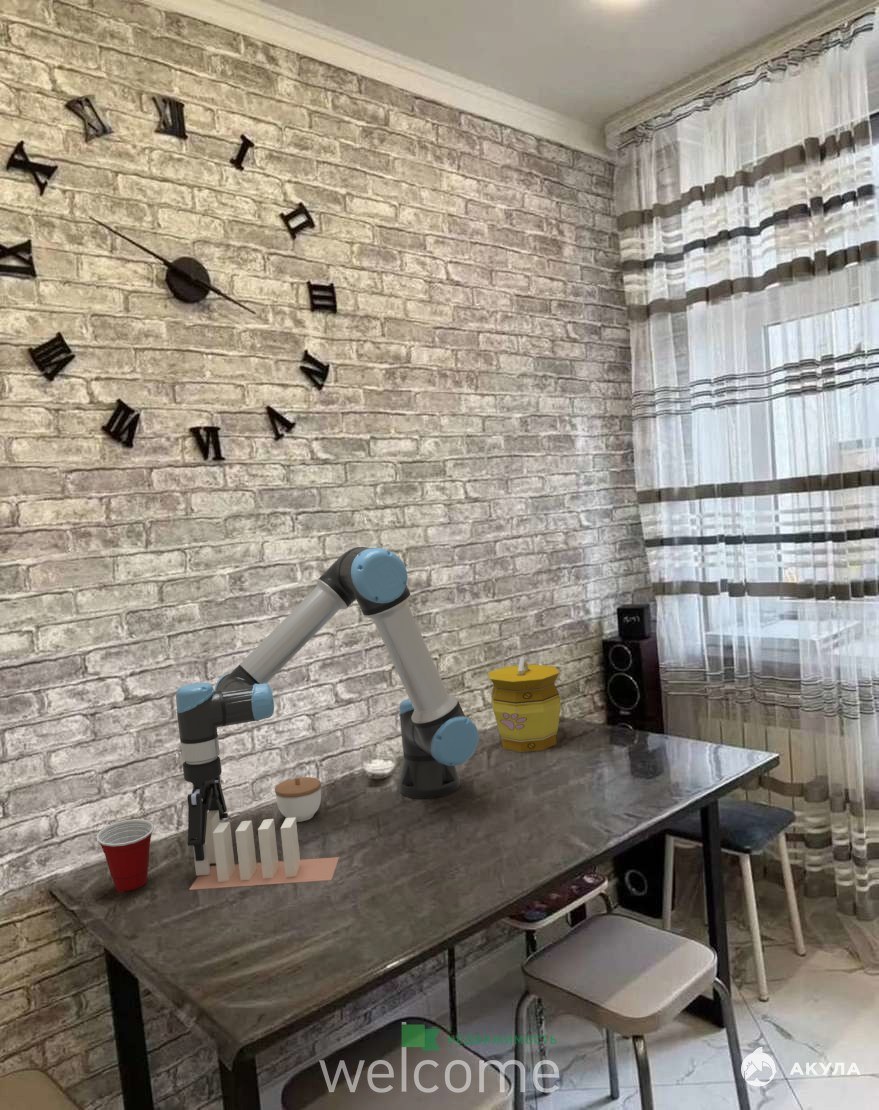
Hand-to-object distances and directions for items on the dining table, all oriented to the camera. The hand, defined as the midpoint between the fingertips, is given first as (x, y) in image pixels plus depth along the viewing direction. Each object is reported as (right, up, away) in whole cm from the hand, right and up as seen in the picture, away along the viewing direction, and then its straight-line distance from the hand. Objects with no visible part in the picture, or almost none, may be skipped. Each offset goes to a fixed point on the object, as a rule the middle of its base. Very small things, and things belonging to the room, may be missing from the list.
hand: (212, 861), depth 173 cm
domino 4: (+14, 0, -7) cm, 16 cm away
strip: (+13, 0, -7) cm, 15 cm away
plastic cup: (-14, -3, -7) cm, 16 cm away
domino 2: (+5, 0, -7) cm, 8 cm away
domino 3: (+9, 0, -7) cm, 12 cm away
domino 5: (+18, +1, -7) cm, 20 cm away
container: (+73, +10, +63) cm, 97 cm away
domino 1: (0, -1, +2) cm, 2 cm away
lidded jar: (+15, +2, +23) cm, 27 cm away
